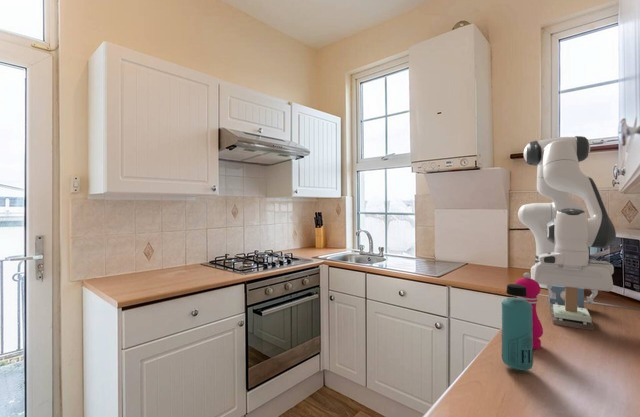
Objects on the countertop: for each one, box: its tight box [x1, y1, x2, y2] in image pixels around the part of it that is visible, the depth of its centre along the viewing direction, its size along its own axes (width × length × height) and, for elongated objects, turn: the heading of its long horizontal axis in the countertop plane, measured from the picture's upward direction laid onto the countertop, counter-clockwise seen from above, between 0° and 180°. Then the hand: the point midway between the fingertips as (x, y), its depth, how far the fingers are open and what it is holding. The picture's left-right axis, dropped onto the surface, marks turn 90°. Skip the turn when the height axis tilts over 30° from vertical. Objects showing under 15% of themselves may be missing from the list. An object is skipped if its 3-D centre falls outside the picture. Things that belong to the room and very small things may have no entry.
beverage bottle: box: [500, 283, 535, 371], centre depth 75 cm, size 6×7×20 cm
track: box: [549, 302, 595, 331], centre depth 108 cm, size 20×10×2 cm, turn 147°
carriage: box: [553, 287, 592, 323], centre depth 104 cm, size 10×9×10 cm
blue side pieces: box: [548, 285, 585, 308], centre depth 119 cm, size 6×10×8 cm, turn 57°
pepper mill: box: [514, 272, 544, 350], centre depth 88 cm, size 7×7×20 cm
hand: (571, 300), depth 104 cm, fingers open, 8 cm apart
